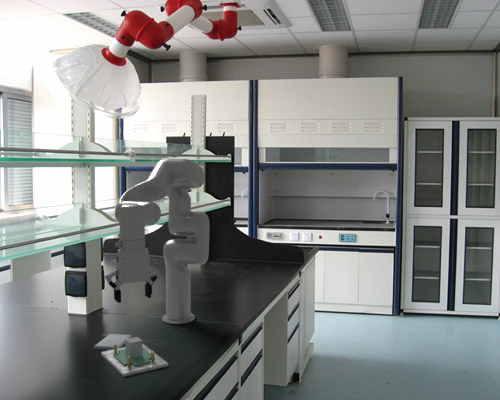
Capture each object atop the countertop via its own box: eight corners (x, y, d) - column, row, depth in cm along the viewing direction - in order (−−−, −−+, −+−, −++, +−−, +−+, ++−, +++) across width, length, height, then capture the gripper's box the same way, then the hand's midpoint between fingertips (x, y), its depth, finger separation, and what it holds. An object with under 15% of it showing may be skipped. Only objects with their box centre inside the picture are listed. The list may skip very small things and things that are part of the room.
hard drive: (117, 347, 171) (131, 334, 183) (93, 345, 172) (109, 333, 184) (117, 352, 171) (131, 339, 183) (93, 350, 172) (109, 337, 184)
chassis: (101, 355, 167) (101, 342, 167) (142, 346, 175) (142, 334, 174) (123, 376, 150) (123, 363, 150) (168, 366, 158) (168, 353, 158)
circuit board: (110, 353, 165) (110, 336, 165) (140, 347, 171) (140, 330, 170) (126, 368, 154) (126, 350, 153) (158, 361, 159) (158, 343, 159)
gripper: (108, 249, 152) (110, 306, 153) (163, 243, 161) (164, 297, 163) (100, 245, 158) (101, 300, 159) (153, 240, 167) (154, 292, 169)
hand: (133, 299), depth 161 cm, fingers open, 9 cm apart
